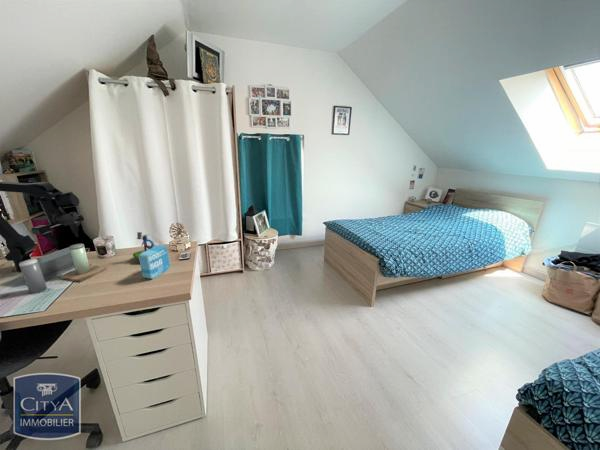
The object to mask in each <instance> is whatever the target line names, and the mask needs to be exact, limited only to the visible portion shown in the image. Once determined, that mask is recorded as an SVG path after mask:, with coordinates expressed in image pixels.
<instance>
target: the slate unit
mask: <svg viewBox="0 0 600 450" xmlns="http://www.w3.org/2000/svg"><path fill="white" fill-rule="evenodd" d="M35 259H37V261H38V263H39V266H40V269H41V272H42V275H43V278H44V280H45V282H46V281H49V280H50V279H52V278H56V277H57V276H61V275H63V274H65V273H68V272H70V271H71V270H73V269H74V270H75V267H74V263H73V260H72V256H71V253H70V249H69V247H66V248H63V249H60V250H57V251H54V252H51V253H47V254H45V255H43V256H39V257H37V258H35Z"/></svg>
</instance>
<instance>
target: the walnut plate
mask: <svg viewBox="0 0 600 450" xmlns="http://www.w3.org/2000/svg"><path fill="white" fill-rule="evenodd" d="M89 266H90V272H88V273H85V274H76V270H75V269H74V270H73V269H72V271H71V270H70V271H67V272H65V273H63V274H61V275H58V276H59V279H60V280H66V281H71V282H77V283H83V282H84V281H86V280H88V279H90V278H92V277H94V276H97V275H98V274H100V273H103V272H105V271H106V270H108V268H107V267H106V266H99V265H93V264H89Z"/></svg>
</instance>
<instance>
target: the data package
mask: <svg viewBox="0 0 600 450" xmlns="http://www.w3.org/2000/svg"><path fill="white" fill-rule="evenodd" d="M146 250H147V251H145V252H143V253H141V254H140V255H139V259H138V260H139V264H140V270H141V275H142V277H143V278H144V279H145V278H146V279H151V280H153V279H155V278H157V277H158V276H160V275H162V274H163V273H164V272H166V271H168V270H169V269H170V267H171V263H170V258H169V252H168V247H167V246H164V245H156V246H155V245H154V246H153V247H152V248H151V249H146Z"/></svg>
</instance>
